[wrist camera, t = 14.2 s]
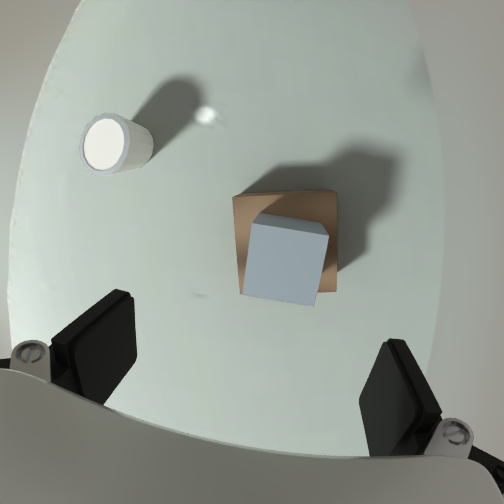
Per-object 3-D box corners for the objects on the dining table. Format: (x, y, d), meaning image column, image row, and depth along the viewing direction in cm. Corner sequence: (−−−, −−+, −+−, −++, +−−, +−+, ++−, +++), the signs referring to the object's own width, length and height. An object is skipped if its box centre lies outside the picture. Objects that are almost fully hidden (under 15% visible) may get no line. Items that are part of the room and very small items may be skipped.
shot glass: (159, 118, 32) (131, 108, 25) (157, 173, 34) (128, 175, 27) (112, 123, 33) (80, 117, 26) (111, 175, 35) (77, 178, 28)
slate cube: (259, 212, 29) (251, 223, 23) (321, 222, 28) (329, 235, 23) (251, 271, 30) (242, 294, 25) (309, 280, 30) (314, 306, 24)
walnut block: (240, 193, 34) (232, 197, 29) (329, 189, 32) (336, 193, 27) (246, 277, 36) (240, 294, 31) (330, 275, 35) (336, 291, 30)
